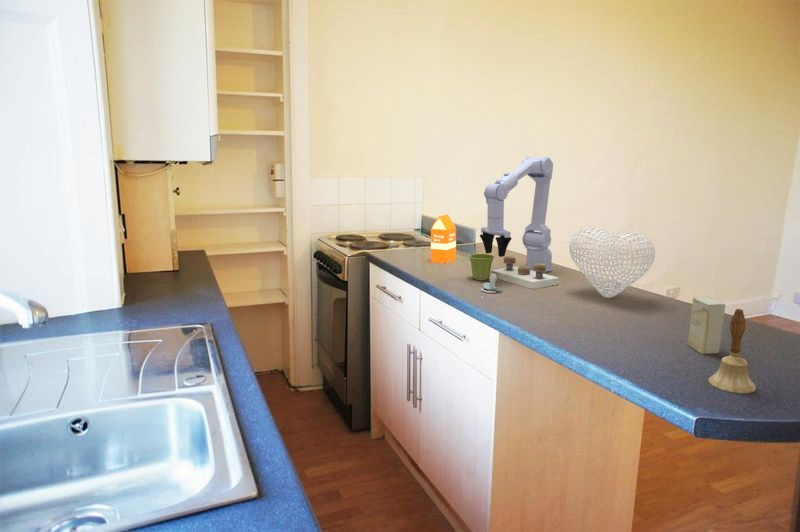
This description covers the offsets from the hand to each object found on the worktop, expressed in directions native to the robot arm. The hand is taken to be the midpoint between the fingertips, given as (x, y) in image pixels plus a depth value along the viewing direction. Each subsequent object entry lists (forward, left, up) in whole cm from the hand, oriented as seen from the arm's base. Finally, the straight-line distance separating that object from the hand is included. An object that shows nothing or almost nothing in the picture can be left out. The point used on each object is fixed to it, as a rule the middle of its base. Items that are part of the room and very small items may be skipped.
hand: (495, 254), depth 200 cm
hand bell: (+16, +96, -10) cm, 98 cm away
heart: (-16, +37, -10) cm, 42 cm away
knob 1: (-10, -3, -7) cm, 13 cm away
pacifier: (+10, +10, -10) cm, 18 cm away
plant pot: (+1, -6, -10) cm, 12 cm away
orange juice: (-5, -42, -10) cm, 43 cm away
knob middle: (-10, +5, -10) cm, 15 cm away
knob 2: (-10, +13, -7) cm, 18 cm away
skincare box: (+2, +81, -10) cm, 82 cm away
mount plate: (-10, +5, -10) cm, 15 cm away
